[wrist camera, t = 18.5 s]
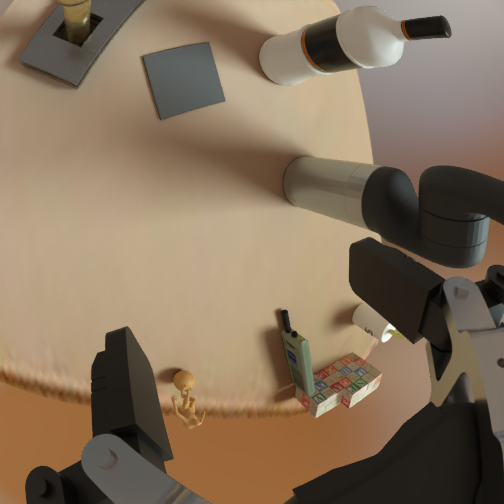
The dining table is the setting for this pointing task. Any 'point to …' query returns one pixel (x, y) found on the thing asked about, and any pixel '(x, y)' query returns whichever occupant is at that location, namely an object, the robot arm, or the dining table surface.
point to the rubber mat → (183, 79)
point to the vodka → (344, 44)
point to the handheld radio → (298, 357)
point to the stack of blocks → (340, 385)
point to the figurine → (186, 399)
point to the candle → (374, 323)
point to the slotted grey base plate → (72, 56)
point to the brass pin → (76, 19)
